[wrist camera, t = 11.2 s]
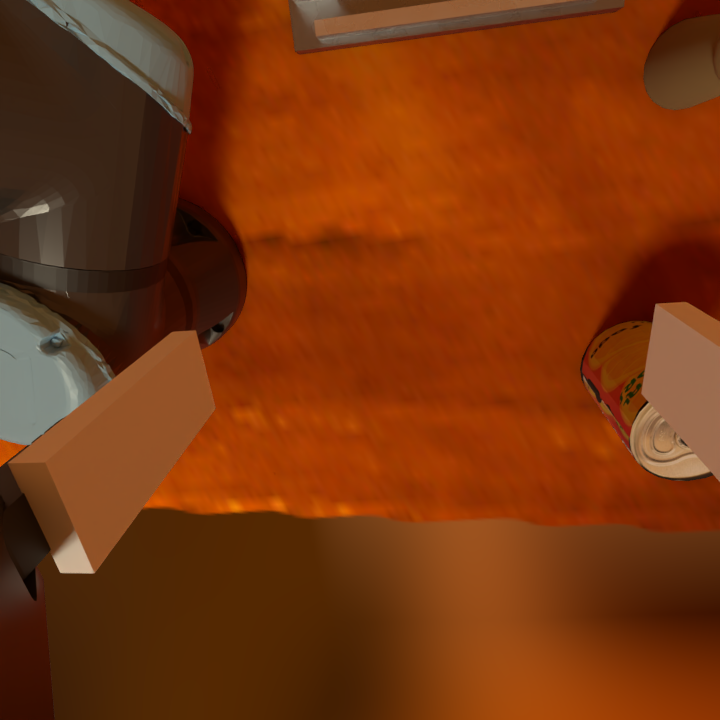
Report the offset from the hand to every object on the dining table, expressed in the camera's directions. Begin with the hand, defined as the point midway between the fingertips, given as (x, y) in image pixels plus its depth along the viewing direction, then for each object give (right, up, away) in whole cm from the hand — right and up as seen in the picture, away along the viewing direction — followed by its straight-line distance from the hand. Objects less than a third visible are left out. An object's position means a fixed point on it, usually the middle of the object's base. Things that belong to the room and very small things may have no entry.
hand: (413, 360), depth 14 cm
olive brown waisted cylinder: (+23, +22, +22) cm, 39 cm away
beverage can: (+25, 0, +33) cm, 41 cm away
